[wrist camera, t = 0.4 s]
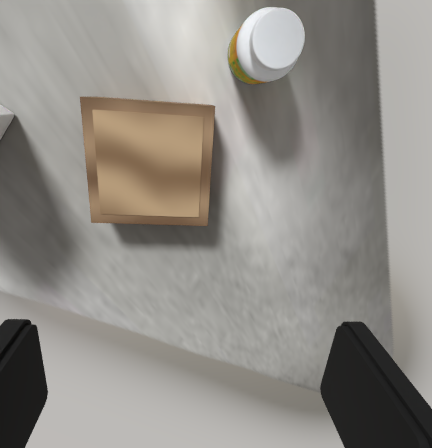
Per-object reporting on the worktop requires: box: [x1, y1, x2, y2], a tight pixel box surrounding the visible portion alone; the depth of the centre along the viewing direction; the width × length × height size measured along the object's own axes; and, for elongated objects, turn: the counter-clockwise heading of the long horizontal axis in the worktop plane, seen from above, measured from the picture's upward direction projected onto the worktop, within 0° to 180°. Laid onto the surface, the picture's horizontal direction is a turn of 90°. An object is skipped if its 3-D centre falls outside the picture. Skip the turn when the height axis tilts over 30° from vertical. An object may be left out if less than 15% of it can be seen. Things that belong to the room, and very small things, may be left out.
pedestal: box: [80, 97, 215, 226], centre depth 32 cm, size 12×12×5 cm
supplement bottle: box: [228, 7, 305, 84], centre depth 27 cm, size 5×5×10 cm
